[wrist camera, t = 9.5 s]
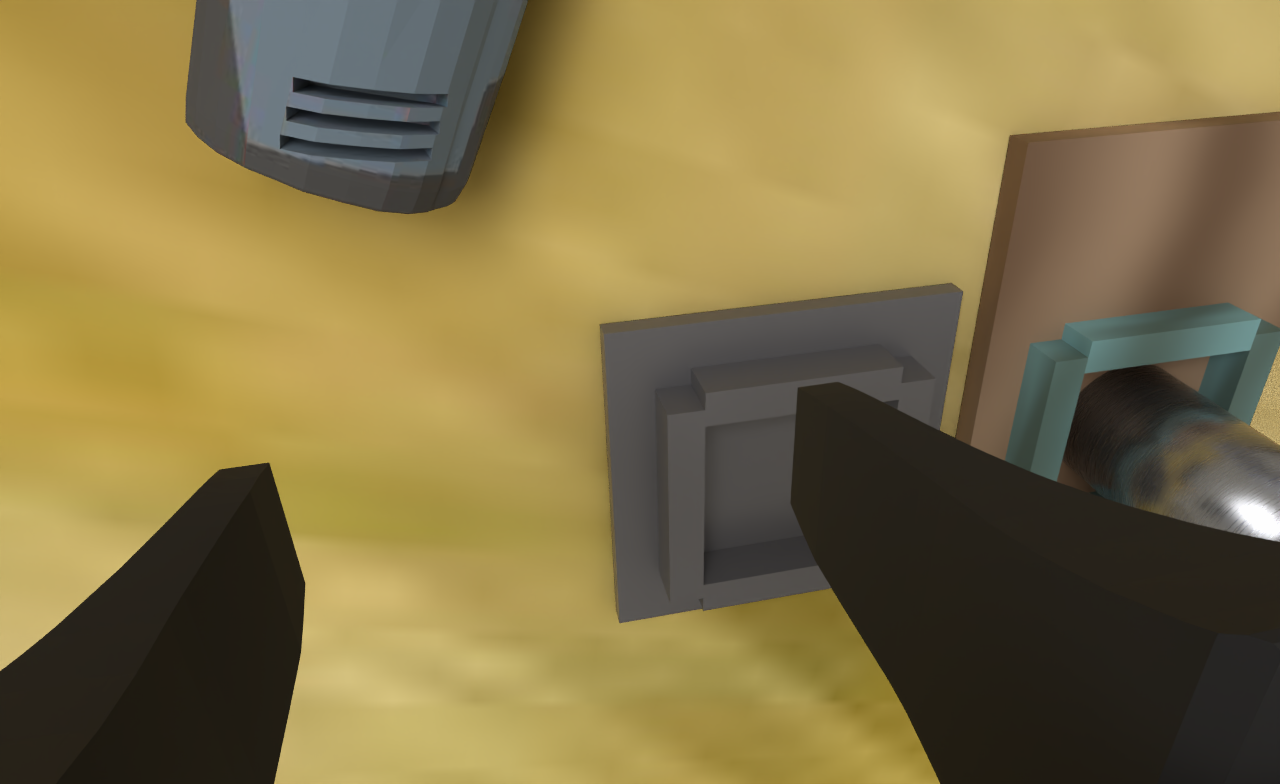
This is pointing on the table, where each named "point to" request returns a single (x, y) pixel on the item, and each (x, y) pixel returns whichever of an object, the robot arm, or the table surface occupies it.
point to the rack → (1125, 276)
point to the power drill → (351, 92)
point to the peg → (1174, 453)
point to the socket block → (744, 434)
